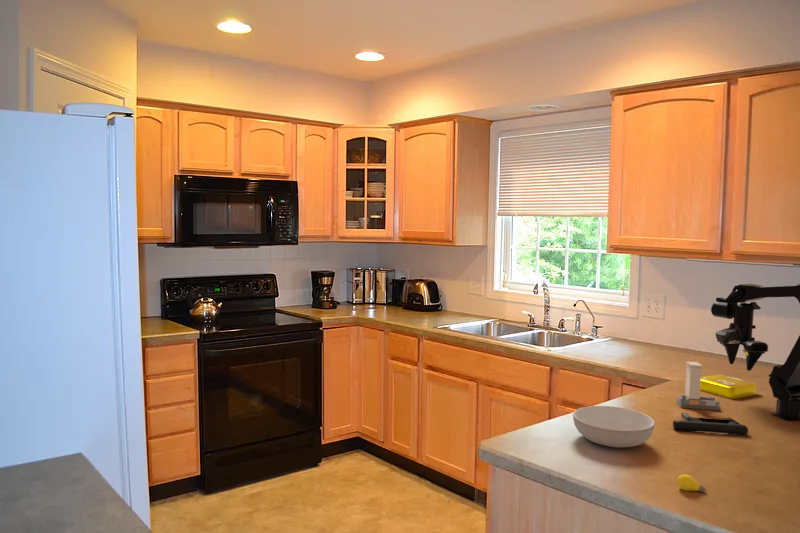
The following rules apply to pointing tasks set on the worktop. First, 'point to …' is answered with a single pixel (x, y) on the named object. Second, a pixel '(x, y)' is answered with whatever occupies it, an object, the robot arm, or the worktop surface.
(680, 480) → the light bulb
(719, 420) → the door handle
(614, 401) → the worktop surface
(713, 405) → the switch base
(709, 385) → the element tile
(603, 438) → the serving bowl
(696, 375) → the tall lidded box
